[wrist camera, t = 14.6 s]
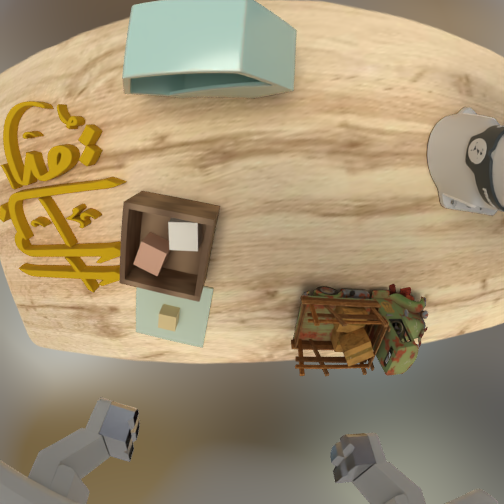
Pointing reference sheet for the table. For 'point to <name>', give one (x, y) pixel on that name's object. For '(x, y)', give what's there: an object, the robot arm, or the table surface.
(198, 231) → the cream cube
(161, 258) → the peach cube
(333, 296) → the toy truck
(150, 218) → the walnut box
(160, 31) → the planter
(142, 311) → the lid
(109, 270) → the decorative art
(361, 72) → the table surface
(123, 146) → the table surface
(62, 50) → the table surface
